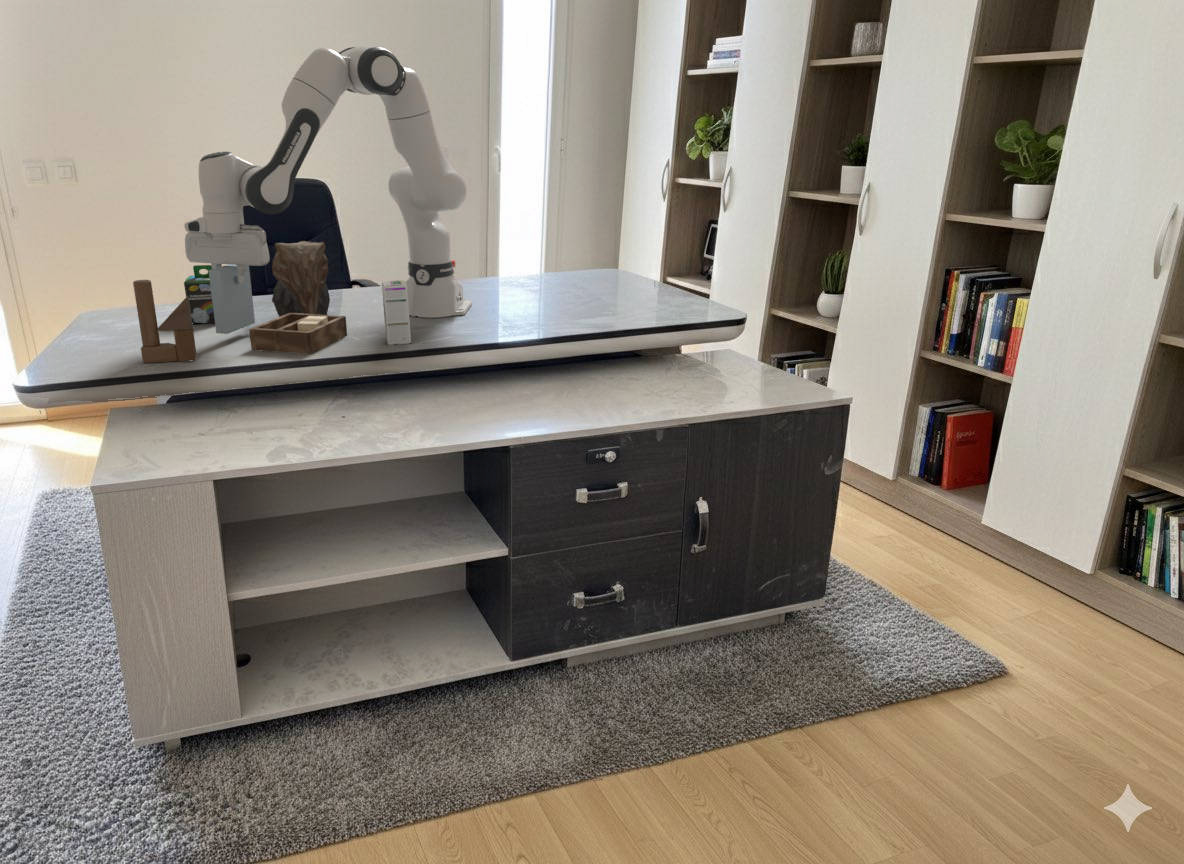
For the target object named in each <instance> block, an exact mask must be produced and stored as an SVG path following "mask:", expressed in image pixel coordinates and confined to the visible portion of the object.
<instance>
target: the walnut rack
mask: <svg viewBox="0 0 1184 864" xmlns="http://www.w3.org/2000/svg"><path fill="white" fill-rule="evenodd" d="M308 316H328V322H327V323H325V324H322V325H320V326H318V327H316V328H314V329H311V330H309V331H307V332H306V331H298V325H297V323H299V322H300V321H302V320H303V319H305V318H307V317H308ZM347 330H348V329H347V316H346V315H332V314H331V315H329V314H327V315H317V314H301V313H288V314H285V315H283V316H280V317H279V316H278V317H276V318H273V319H271V320H268V321H266V322H263V323H261V324H257V325H256V326H253V327H251V328H249V329H248V331H249V337H250V338H249V340H250V341H249V342H250V349H252V350H251V351H259V350H262V352H273V351H277V352H276V353H289V354H290V353H291V354H301V355H312V354H314V353H316V352H318V351H320V350H322V349H324V348H326V347H328V346H330V345H332V344H334V343H336V342H339V341H340V340H342V339H344V338H346V337H348V331H347ZM345 336H346V337H345ZM343 337H344V338H343ZM341 338H342V339H341ZM339 339H340V340H339Z"/></svg>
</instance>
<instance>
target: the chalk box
mask: <svg viewBox="0 0 1184 864" xmlns="http://www.w3.org/2000/svg"><path fill="white" fill-rule="evenodd" d="M211 269H212V266H211V264H200V265H199V264H198V265H197V264H196V265H193V267H192V270H193V274H194V275H189V276H188V277H187V278H185V281H184V282H183V285H184V286H183V287H184V294H185V298H186V297H187V296H189V303H190V310H191V318H192V323H212V324H215V319H214V310H213V302H212V294H211V286H210V278H209V270H211ZM201 270H205V271H206V270H207V273H200V271H201Z"/></svg>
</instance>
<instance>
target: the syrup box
mask: <svg viewBox="0 0 1184 864" xmlns="http://www.w3.org/2000/svg"><path fill="white" fill-rule="evenodd" d="M405 282H406V280H389V281H382V282H381V291H382V292H381V293H382V302H383V303H382V304H383V305H382V306H383V315H384V317H383V318H384V328H385V329H384V330H385V340H386V343H387V345H390V346H391V345H392V346H393V345H394V344H398V345H409V343H411V344H412V338H411V337H412V336H411V321H410V315H409V306H408V294H407V285H406V283H405ZM394 346H395V345H394Z"/></svg>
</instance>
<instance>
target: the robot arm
mask: <svg viewBox="0 0 1184 864" xmlns="http://www.w3.org/2000/svg"><path fill="white" fill-rule="evenodd" d="M346 91H347V92H351V93H354V94H356V93H357V94H362V95H369V96H370V95H378V96H379V98H380V99H381V100H382V102H383V105H384V107H385V113H386V116H387V117H386V118H387V121H388V126H389V130H390V133H391V137H392V141H393V144H394V149H395V150H396V152H397V153H398V154H400V156H401V157H402V158H403V159H404V161H405V162H406V163H407V165H408V166H404V167H401V168H400V167H399V168H398V169H395V171H393V173H392V174H391V175H390V177H389V180H388V191H389V194H390V197H391V198H392V200H393V201H394V202H395V203H396V204H397V206H398V208H399V210H400V212H401V215H402V218H403V221H404V226H405V227H406V232H407V240H408V241H407V242H408V254H409V261H408V263H407V264H408V265H407V270H408V273H407V274H408V276H409V277H408V279H406V280H405V283H406V285H407V294H408V306H409V316H410V315H411V317H415V316H418V317H417V318H445V317H452V315H453V316H464V315H466V314H467V312H468V311H469V309H470V308H471V307H472V305H473V303H472V301H471V300H469V299H468V300H467V299H464V288H463V284H462V283H461V282H460V281H459V280H458V279H457V278H456V276H455V275H454V273H455V271H454V268H455V267H456V264H457V263H456V260H455V259H453V260H452V259H451V241H450V240H451V239H450V238H451V237H450V236H451V235H450V232H449V229H447V227H446V226H445V225H444V223H443V221H442V219H441V217H440V215H439V212H449V211H453V210H456V209H458V208H460V207H461V206H462V205H463V204H464V202H465V199H466V198H467V185H466V183H465V180H464V178H463V177H462V176H461V175H460V174H459V173H458V172H457V171H456V170H455V169H454V167H453V166H452V165H451V164H450V162H449V161H448V159H447V157H446V155H445V153H444V151H443V148H442V147H441V145H440V142H439V139H438V137H437V132H436V129H435V125H434V124H435V123H434V119H433V117H432V113H431V109H430V108H431V107H430V103H429V100H428V96H427V95H426V91H425V88H424V85H423V83H422V81H421V78H420V76H419V74H418V73H417V72H416V71H415V70H413V69H411V68H409V67H403V66H402V64H401V63H400V61H399V60H398V58H397V57H396V55H395V54H394V53H393V52H391V51H390V50H388V49H386V48H384V47H382V46H371V45H360V46H357V47H353V46H352V47H348V48H344V49H343V50H341V51H340V52H337V51H335V50H333V49H331V48H328V47H319V48H316V49H314V50H313V51H312V52H311V53H310V54H309V55H308V56H307V58H306V59H305V60H304V62H302V64H301V65H300V66H299V68H298V69H297V71H295V74H294V76H293V77H292V79H291V81H290V82H289V84H288V86H287V88H286V90H285V93H284V95H283V98H282V101H281V110H282V114H283V117H284V119H285V128H284V129H285V130H284V133H283V136H282V137H281V139H280V141H279V143H278V145H277V147H276V149H275V151H274V153H273V154H272V156H271V159H270V160H269V161H268V163H267V164H265V165H264V166H260V165H257V164H254V163H251V162H249V161H246V160H244V159H242V158H240V157H239V156H237V155H236V154H234V153H233V152H231V151H218V152H212V153H209V154H206V155H203V156H202V157H201V159H200V160H199V163H198V183H199V184H198V186H199V192H200V195H201V198H202V203H203V204H202V216H201V217H197V218H196V219H193V220H190V221H186V222H185V223H184V225H183V226H184V229H185V231H186V232H187V233H186V234H185V238H184V250H185V251H184V252H185V255H186V258H187V260H188V261H189V262H190V263H196V264H197V263H200V264H210V265H211V266H212V269H215V268H218V267H222V266H223V265H230V264H234V265H237V269H239V272H238V274H237V275H236V276H234V279H235V280H234V282H235V283H240V284H241V283H244V277H243V275H244V274H245V272H246V269H247V265H249V266H255V267H256V266H257V267H258V266H259V267H262V266H266V265H268V264H269V263H270V259H271V258H270V251H269V247H268V242H267V233H266V231H265V230H264V228H262V227H260V226H259V225H255V224H254V225H250V224H248V225H247V224H245V219H244V206H247V207H248V206H250V207H252V208H255V209H256V210H257V211H259V212H261V213H263V214H266V215H276V214H279V213H281V212H282V213H283V212H284V211H285V210H286V209H288V207H289V206H290V205H291V203H292V200H293V197H294V191H295V183H296V178H297V176H298V173H299V171H300V168H301V167H302V165H303V163H304V161H305V159H306V157H307V155H308V154H309V152H310V149H311V147H312V145H313V143H314V141H315V138H316V137H317V136H318V134H319V133H320V131H321V129H322V128H323V126H324V124H325V123H326V122H327V121H328V118H329V117H330V115H331V113H332V112H333V110H334V109H335V107H336V105H337V103H338V102H339V101H340V100H339V99H340V97H342V95H343V94H344V93H345V92H346Z"/></svg>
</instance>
